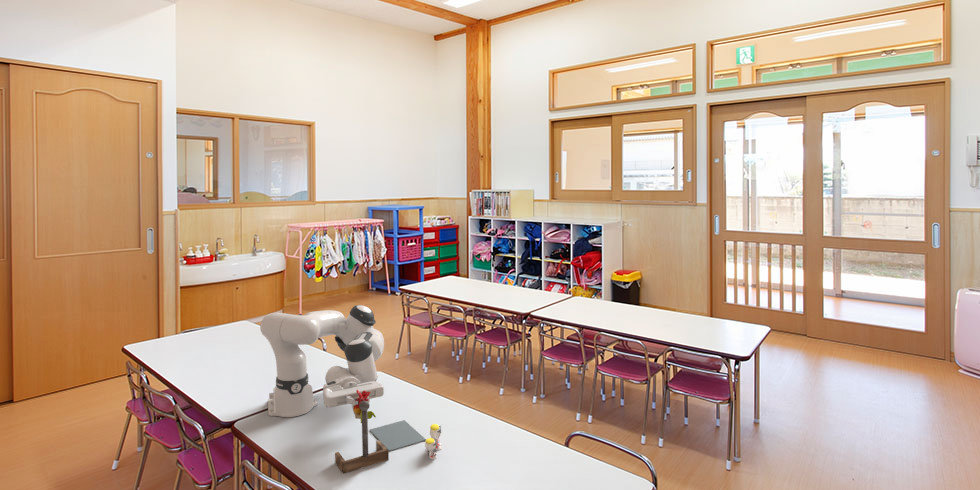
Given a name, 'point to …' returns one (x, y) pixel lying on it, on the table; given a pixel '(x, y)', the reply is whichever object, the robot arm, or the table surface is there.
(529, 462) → the table surface
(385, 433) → the mat
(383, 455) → the wooden lever stand
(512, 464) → the table surface
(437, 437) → the toy figures
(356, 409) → the bird rattle
